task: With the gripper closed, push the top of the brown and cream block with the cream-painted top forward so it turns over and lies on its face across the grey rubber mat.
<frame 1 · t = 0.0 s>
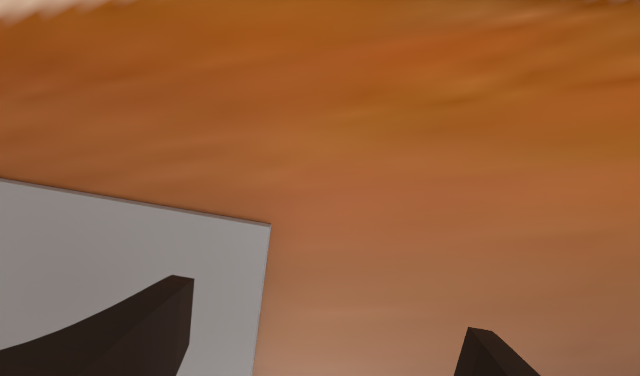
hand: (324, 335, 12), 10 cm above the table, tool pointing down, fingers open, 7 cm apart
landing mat: (69, 289, 24), on the table
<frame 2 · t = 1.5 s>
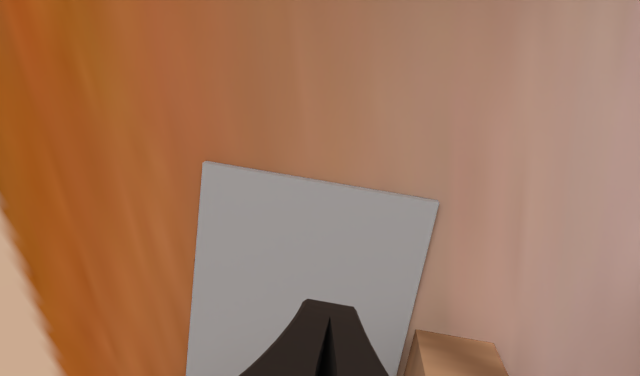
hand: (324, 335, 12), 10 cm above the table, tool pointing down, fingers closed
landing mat: (292, 357, 25), on the table
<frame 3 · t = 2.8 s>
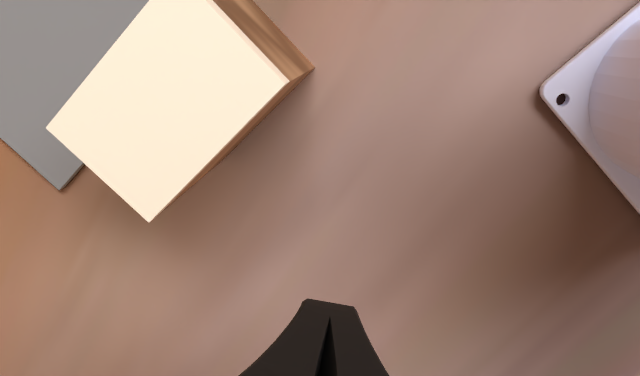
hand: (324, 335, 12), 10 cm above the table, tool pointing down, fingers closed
brown and cream block: (235, 82, 21), on the table
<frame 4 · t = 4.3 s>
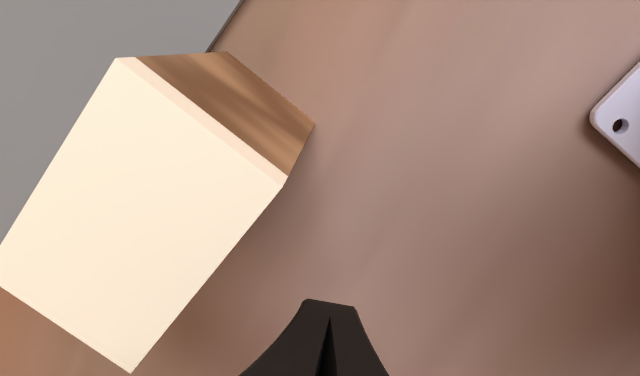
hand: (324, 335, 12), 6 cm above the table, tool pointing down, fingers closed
brown and cream block: (224, 150, 17), on the table
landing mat: (41, 10, 16), on the table
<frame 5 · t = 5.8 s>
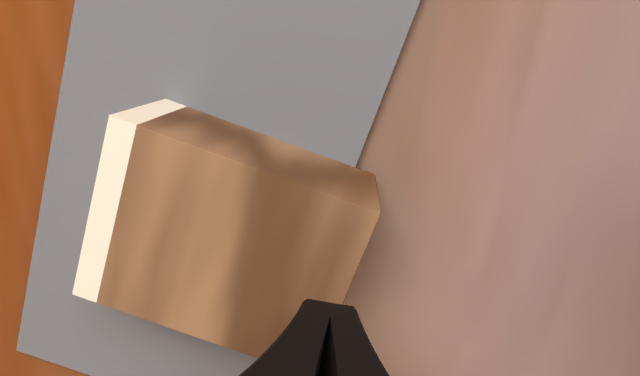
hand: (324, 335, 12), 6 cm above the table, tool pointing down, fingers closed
brown and cream block: (345, 269, 16), point 2 cm above the table, tilted 90°, touching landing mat
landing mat: (194, 186, 18), on the table
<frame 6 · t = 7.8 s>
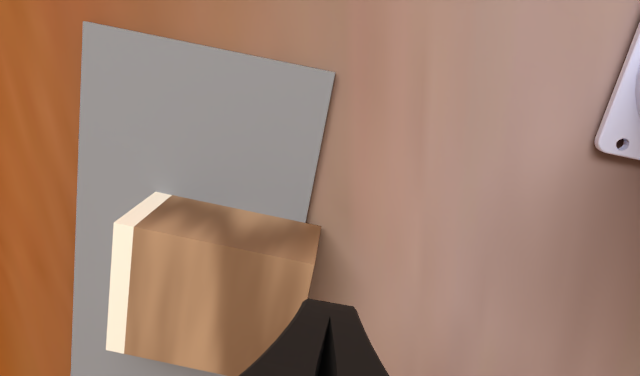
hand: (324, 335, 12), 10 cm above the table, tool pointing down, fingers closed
brown and cream block: (305, 303, 21), point 2 cm above the table, tilted 90°, touching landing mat
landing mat: (187, 252, 23), on the table
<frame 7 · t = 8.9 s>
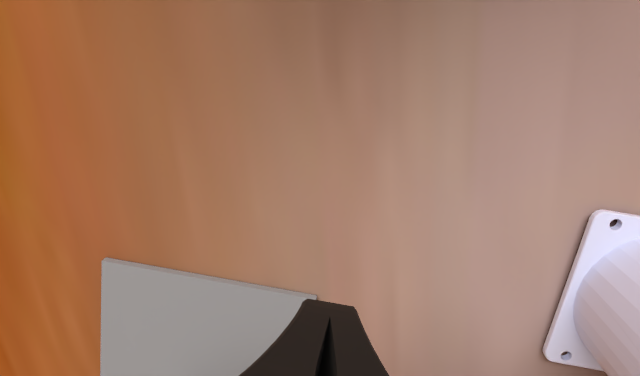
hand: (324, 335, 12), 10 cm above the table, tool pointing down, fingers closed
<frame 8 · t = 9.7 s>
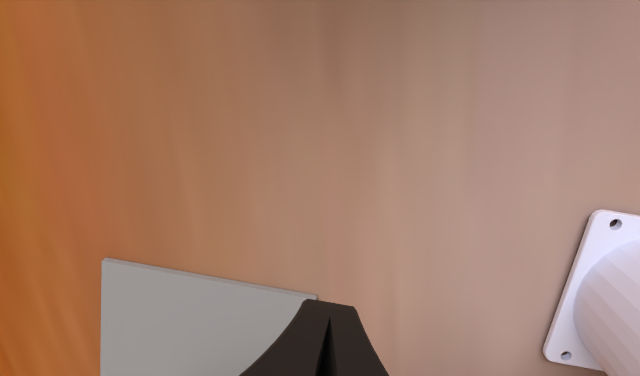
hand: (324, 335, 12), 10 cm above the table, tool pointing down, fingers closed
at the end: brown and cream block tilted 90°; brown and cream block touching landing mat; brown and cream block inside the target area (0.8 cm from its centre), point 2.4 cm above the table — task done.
